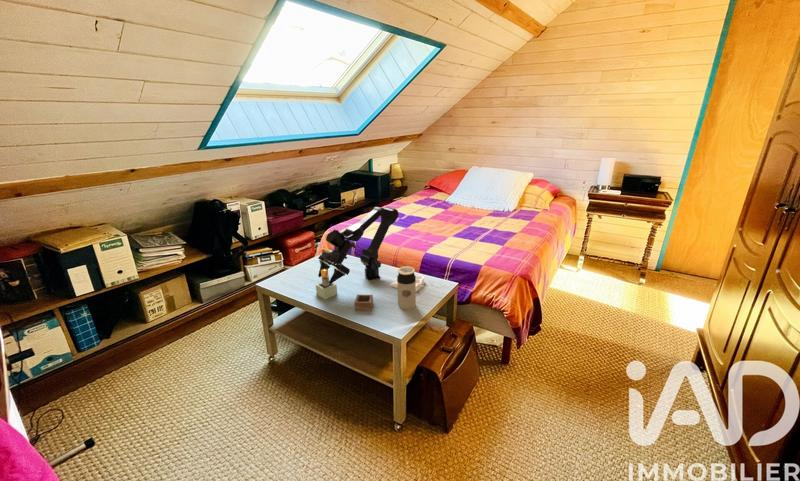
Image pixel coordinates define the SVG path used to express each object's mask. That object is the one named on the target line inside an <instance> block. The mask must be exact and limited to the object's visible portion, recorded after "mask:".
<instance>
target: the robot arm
mask: <svg viewBox="0 0 800 481" xmlns="http://www.w3.org/2000/svg"><path fill="white" fill-rule="evenodd" d="M379 218H380V221H381V222H380V223H379V225H378V228H377V229H376V231H375V234H374V236H373V238H372V240H371V242H370V244H369V246H368V247H367V248H363V249H362V252H361V254H360V258H359V259H360V262H361V263H362V264H363V265H364V267H365V268H364V277H365V278H366V279H367V280H368V281H371V280H376V279H380V278H381V276H380V272H379V271H380V268H381V267H382V262H380V261H379V260H378V259H379V249H380V247H381V245H382V244H383V241H384V239H385V236H386V234H387V232H388V230H389V228H390V227H391V226H392V225H393V224H394V223H395V222H396V221H397V219H398V218H399V210H398V209H396V208H392V207H389V206H386V207H379V206H374V207H373V209H372V210H371V211H370V212H368V213H367V214H366V215H365V216H364V217H363V218H361V220H359V222H356V223H354V224H352V225H350V226H347V228H345V230H343V231H339V230H337V229H335V228H334V229H333V230H332V231H330V232H329V233H328V234H326V238H325V239H326V240H325V241H326V242H327V243H329V244H330V245H332V246H333V247H335V248H336V249H332V251H330V250H322V251H321V254H320V255H319V256H318V261H319V264H320V266H319V271H318V274H317V276H318V277H319V278H322V276H321V270H322V269H328V270H329V268H331V266H333V267H334V268H333V273H332V276H331V278H329V283H330V284H331V283H334V282H336V281H337V280H339V279H340V278H343V276H346V275H347V276H349V274H350V273H351V272H350V268H348V266H345V265H344V264H343V262H344V260H347V259H348V256H347V255H348V254H349V252H350V250H351V249H352V248H353V249H356V242H358V241H359V240H361V238H362V237H363V235H364V232H365V230H367V229H368V228H369V227H371V225H372V224H374V222H376V221H377V220H378V219H379Z"/></svg>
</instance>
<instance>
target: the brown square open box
mask: <svg viewBox="0 0 800 481" xmlns="http://www.w3.org/2000/svg"><path fill="white" fill-rule="evenodd" d="M373 296H374V295H373V294H356V297H355V300H354V311H355V312H372V309H373V305H374V297H373Z"/></svg>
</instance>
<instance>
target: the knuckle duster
mask: <svg viewBox="0 0 800 481" xmlns="http://www.w3.org/2000/svg"><path fill="white" fill-rule="evenodd" d="M414 275H415V274H414ZM415 277H416V293H417V292H418V291H419V290H421V289H422V288H423V287H425V285H424V284H425V277H424V276H423V275H419V274H416V275H415ZM422 284H423V285H422ZM389 286H390V287H392V288H395V289H398V287H397V279H396V280H395V281H393V282H392V283H390V284H389ZM421 287H422V288H421ZM417 290H418V291H417Z"/></svg>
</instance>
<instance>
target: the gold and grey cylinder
mask: <svg viewBox="0 0 800 481" xmlns="http://www.w3.org/2000/svg"><path fill="white" fill-rule="evenodd" d="M329 281H330V278H329V269H322V270H321V283H322V285H323V288H327V287H329V286H330V285H329Z"/></svg>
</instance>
